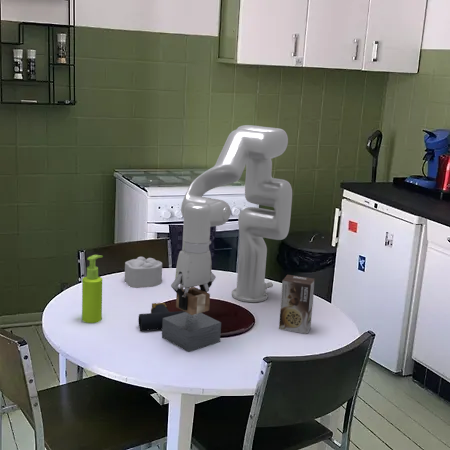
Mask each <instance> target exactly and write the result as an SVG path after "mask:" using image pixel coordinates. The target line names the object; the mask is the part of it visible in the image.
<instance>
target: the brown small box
mask: <svg viewBox="0 0 450 450" xmlns="http://www.w3.org/2000/svg"><path fill="white" fill-rule="evenodd" d="M184 289H185V288H183V291H184ZM186 297H188V304H187V310H186V311H185V310H183V309H181V308H179V295H178V294H177V293H176V299H175V308H176V309H179V310H180V311H185V312H187V313H189V314H191V315H194V314H198V313H205V312H208V311H210V301H211V299H210V298H211V293H210V292H205V291H202V290H200V288H198V287H197V286H195V287H190V288H189V290H188V293H187V296H186Z"/></svg>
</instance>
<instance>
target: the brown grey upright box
mask: <svg viewBox="0 0 450 450" xmlns="http://www.w3.org/2000/svg"><path fill="white" fill-rule="evenodd" d="M281 281H282V282H281V295H280V297H281V298H280V310H279V311H280V312H279V321H278V322H279V323H278V325H279V326H278V330H281V331H282V330H283V331H288V332H293V333H300V334H306V335H307V334H308V333H309V331H310V329H311V328H312V318H313V317H312V314H313V306H314V304H313V303H314V291H315V281H316V279H315V278H312V277H305V276H300V275H292V274H287V275H286V276H285V277H283V279H282V280H281Z"/></svg>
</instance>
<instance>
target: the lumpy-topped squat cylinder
mask: <svg viewBox="0 0 450 450" xmlns="http://www.w3.org/2000/svg"><path fill="white" fill-rule="evenodd" d="M162 279H163V262H162V261H160V260H156V259H155V258H152V257H148V258H145V257H144V256H138V257H137V258H133V259H130V260H127V261H125V262H124V283H125V282H126V283H125V284H126V285H128V287H129V286H130V287H129V288H132V289H141V288H153V287H156V286H159V285H161V284H162V283H163V282H162V281H163V280H162Z"/></svg>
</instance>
